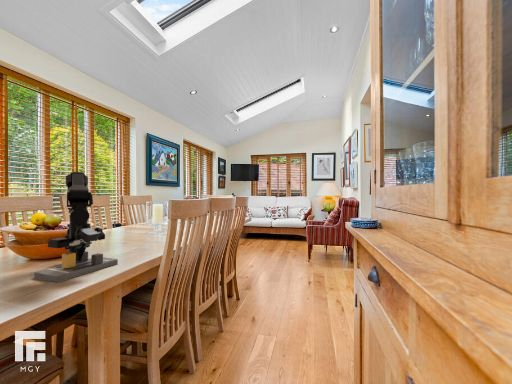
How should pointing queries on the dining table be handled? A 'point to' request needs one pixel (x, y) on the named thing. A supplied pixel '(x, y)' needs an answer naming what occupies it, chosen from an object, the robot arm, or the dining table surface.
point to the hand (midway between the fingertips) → (78, 261)
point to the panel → (76, 268)
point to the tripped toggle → (68, 260)
